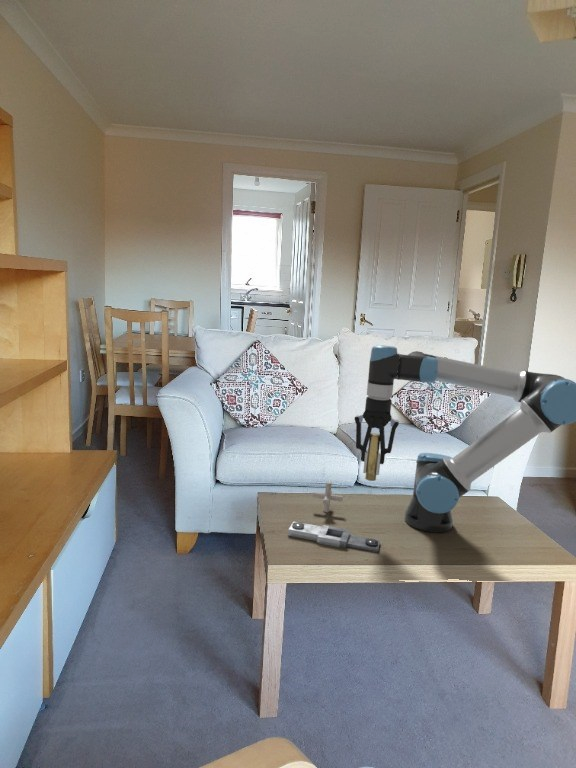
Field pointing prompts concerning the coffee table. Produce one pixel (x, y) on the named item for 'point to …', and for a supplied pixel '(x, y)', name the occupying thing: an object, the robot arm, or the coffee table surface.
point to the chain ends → (332, 536)
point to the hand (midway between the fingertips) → (371, 472)
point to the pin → (372, 456)
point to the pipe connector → (327, 496)
